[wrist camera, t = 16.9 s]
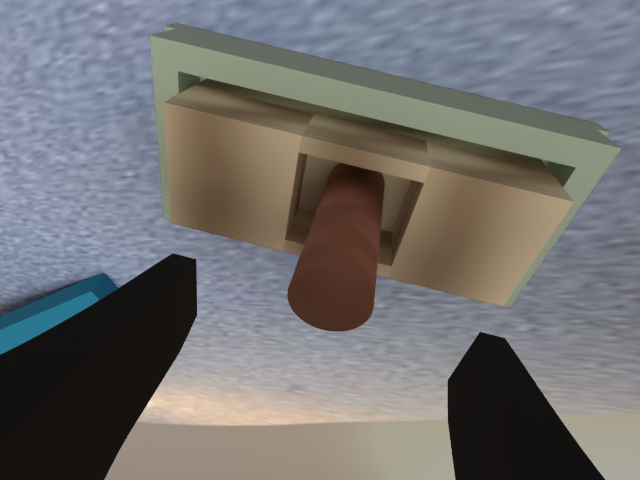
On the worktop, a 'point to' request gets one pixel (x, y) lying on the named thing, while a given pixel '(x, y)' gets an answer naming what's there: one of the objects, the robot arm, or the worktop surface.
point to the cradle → (382, 108)
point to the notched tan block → (370, 153)
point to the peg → (341, 252)
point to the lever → (51, 311)
